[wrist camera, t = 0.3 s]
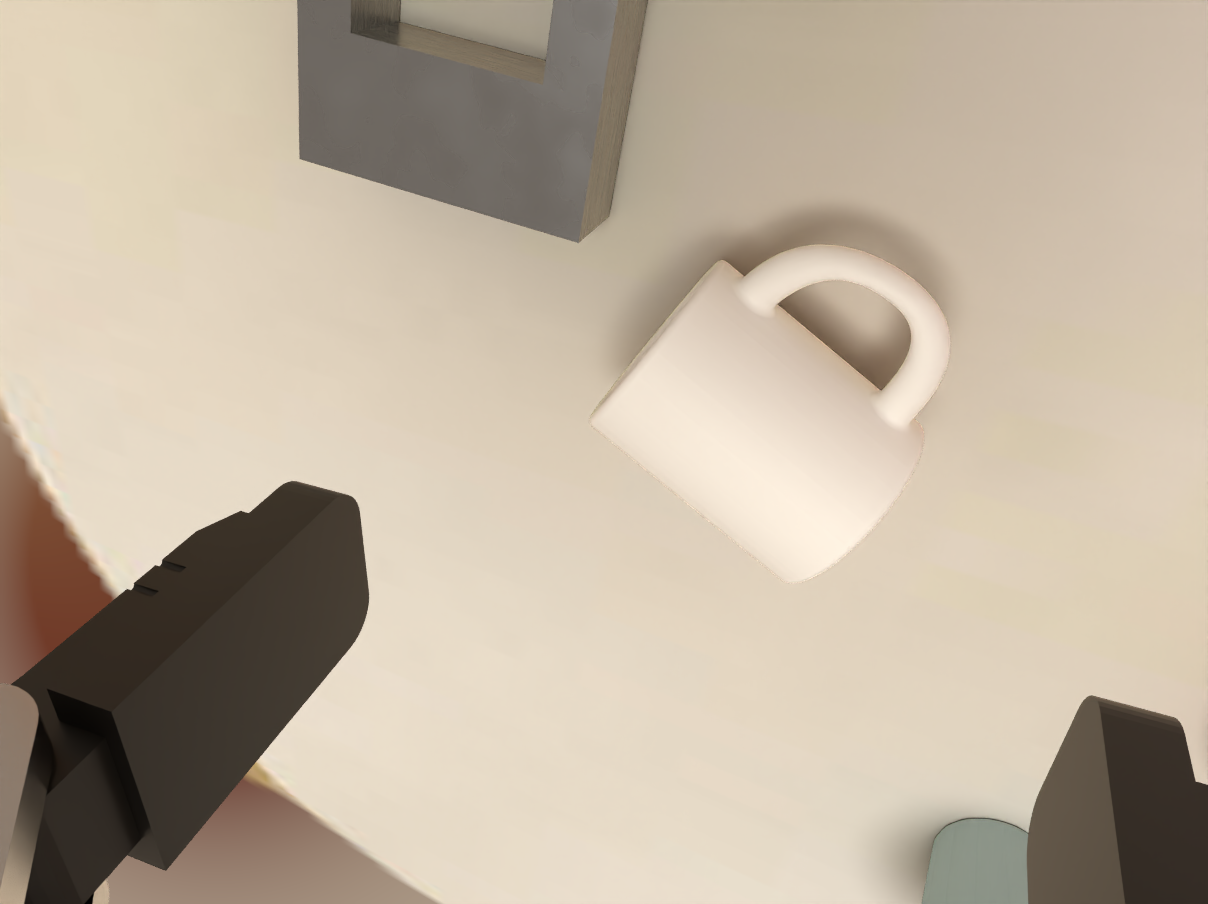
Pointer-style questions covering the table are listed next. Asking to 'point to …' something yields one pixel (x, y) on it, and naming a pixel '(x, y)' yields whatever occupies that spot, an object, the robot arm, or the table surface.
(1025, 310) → the table surface
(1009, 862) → the cup
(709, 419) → the mug
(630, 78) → the jig
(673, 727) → the table surface
